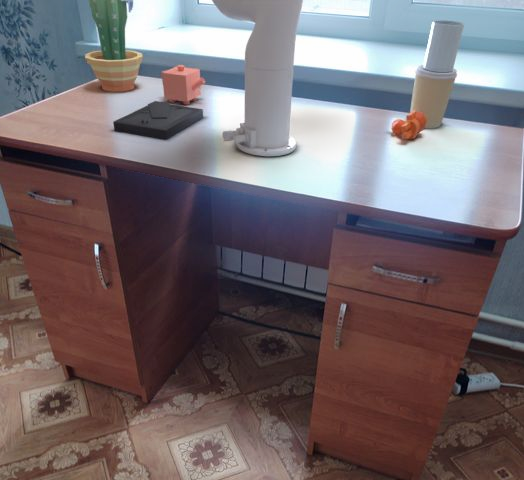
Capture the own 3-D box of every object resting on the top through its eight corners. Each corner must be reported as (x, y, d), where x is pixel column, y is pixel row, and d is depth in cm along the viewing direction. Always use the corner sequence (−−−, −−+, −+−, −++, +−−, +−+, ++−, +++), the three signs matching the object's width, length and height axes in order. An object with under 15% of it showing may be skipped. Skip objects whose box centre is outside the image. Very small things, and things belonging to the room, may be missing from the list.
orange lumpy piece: (415, 118, 107) (430, 105, 115) (381, 124, 111) (398, 111, 119) (417, 142, 110) (431, 128, 118) (384, 147, 114) (400, 133, 122)
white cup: (436, 73, 113) (447, 25, 107) (416, 66, 117) (426, 20, 111) (459, 70, 115) (470, 24, 109) (438, 64, 120) (449, 19, 114)
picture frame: (155, 110, 126) (114, 130, 113) (154, 100, 124) (112, 120, 112) (203, 117, 122) (166, 139, 110) (202, 107, 121) (165, 128, 108)
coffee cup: (440, 118, 127) (453, 65, 120) (447, 130, 120) (461, 74, 112) (403, 116, 128) (414, 63, 120) (407, 128, 121) (419, 72, 113)
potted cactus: (120, 98, 133) (103, -19, 117) (77, 88, 139) (56, -24, 122) (158, 86, 143) (147, -23, 127) (117, 78, 149) (102, -28, 133)
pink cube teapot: (199, 107, 128) (197, 71, 123) (157, 101, 131) (154, 66, 126) (212, 100, 134) (210, 65, 129) (171, 94, 137) (169, 60, 132)
